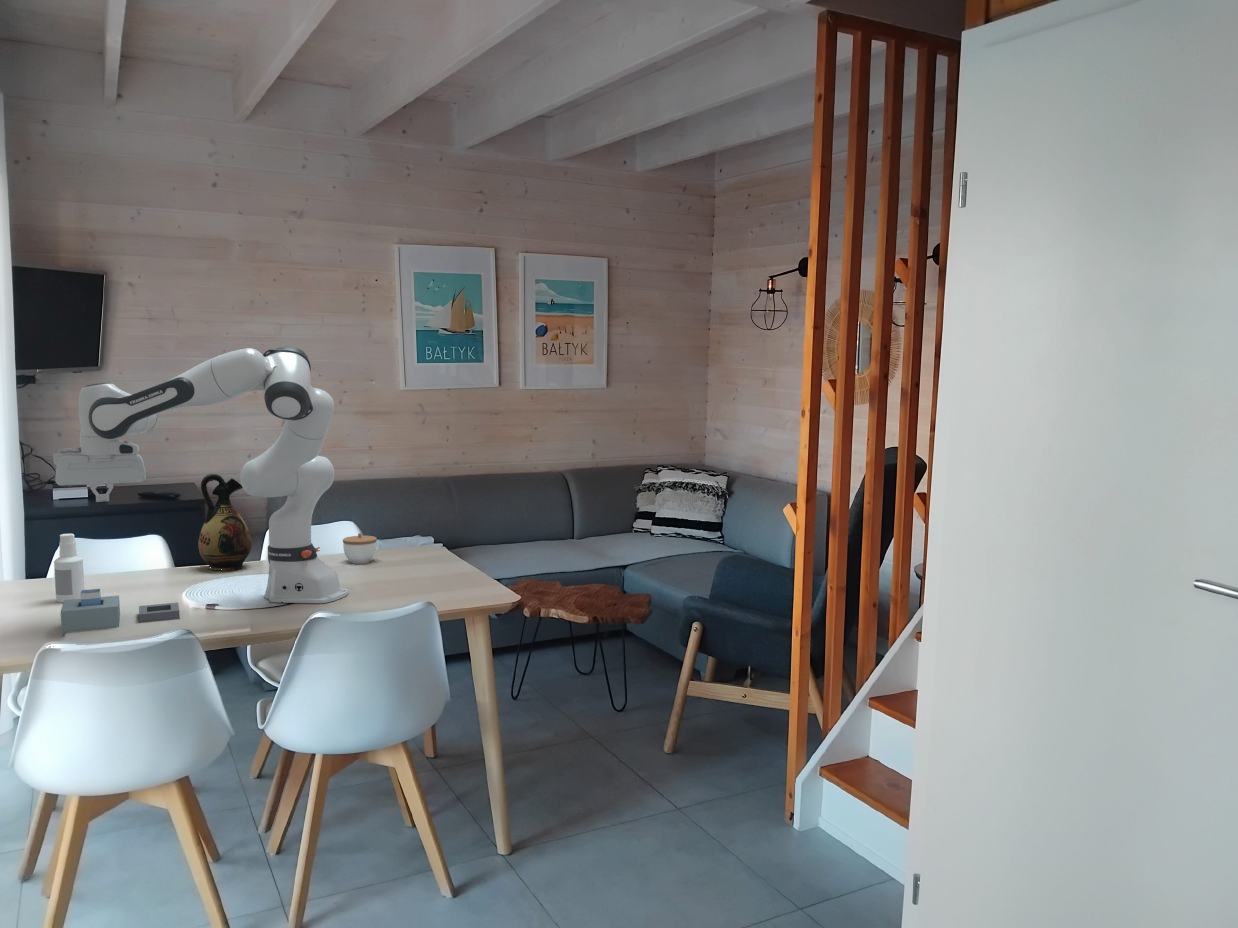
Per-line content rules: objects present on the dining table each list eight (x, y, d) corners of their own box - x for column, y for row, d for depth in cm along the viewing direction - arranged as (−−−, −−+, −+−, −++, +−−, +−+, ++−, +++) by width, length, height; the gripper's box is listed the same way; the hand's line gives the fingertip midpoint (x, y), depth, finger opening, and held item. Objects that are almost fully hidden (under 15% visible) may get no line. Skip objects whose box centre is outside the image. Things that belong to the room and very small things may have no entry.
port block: (120, 618, 241) (119, 595, 241) (119, 630, 231) (118, 606, 230) (65, 623, 236) (64, 600, 235) (61, 636, 225) (60, 611, 225)
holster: (178, 613, 246) (178, 602, 246) (179, 622, 238) (179, 610, 238) (139, 617, 242) (139, 605, 242) (139, 626, 234) (138, 614, 234)
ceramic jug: (248, 561, 312) (245, 470, 309) (255, 570, 298) (252, 475, 295) (191, 566, 304) (188, 472, 301) (195, 575, 290) (192, 477, 287)
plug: (102, 624, 236) (100, 588, 235) (101, 628, 232) (99, 592, 231) (83, 626, 234) (81, 590, 233) (82, 630, 231) (80, 593, 230)
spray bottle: (58, 598, 262) (55, 533, 260) (86, 596, 264) (83, 531, 262) (53, 603, 255) (50, 537, 253) (82, 601, 258) (79, 536, 256)
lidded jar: (345, 558, 317) (344, 531, 316) (378, 558, 319) (377, 530, 318) (341, 565, 307) (341, 536, 306) (376, 564, 309) (375, 535, 308)
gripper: (51, 449, 235) (54, 505, 236) (144, 447, 244) (146, 500, 245) (53, 447, 240) (56, 501, 242) (144, 445, 249) (146, 497, 251)
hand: (102, 501), depth 243 cm, fingers closed
